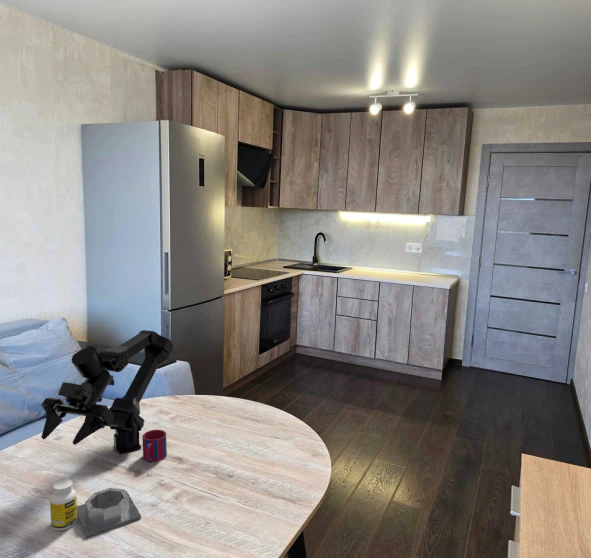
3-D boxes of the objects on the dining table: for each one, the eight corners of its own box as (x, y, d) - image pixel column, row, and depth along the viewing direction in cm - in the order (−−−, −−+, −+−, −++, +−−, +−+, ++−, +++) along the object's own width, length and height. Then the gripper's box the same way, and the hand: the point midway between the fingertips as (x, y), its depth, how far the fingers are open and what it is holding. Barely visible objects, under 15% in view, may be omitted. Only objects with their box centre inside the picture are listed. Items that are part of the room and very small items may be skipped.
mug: (170, 451, 140) (169, 430, 139) (155, 469, 130) (155, 446, 129) (149, 449, 141) (148, 428, 140) (133, 467, 131) (132, 444, 130)
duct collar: (126, 493, 119) (126, 479, 118) (140, 518, 109) (140, 503, 108) (75, 509, 112) (74, 495, 111) (86, 538, 102) (85, 522, 102)
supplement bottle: (67, 533, 104) (65, 492, 102) (45, 529, 105) (43, 489, 103) (82, 517, 109) (80, 478, 108) (61, 514, 110) (59, 476, 109)
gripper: (50, 366, 122) (10, 417, 111) (110, 373, 118) (75, 428, 106) (68, 391, 130) (33, 442, 118) (126, 399, 125) (95, 453, 113)
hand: (58, 441), depth 114 cm, fingers open, 9 cm apart
